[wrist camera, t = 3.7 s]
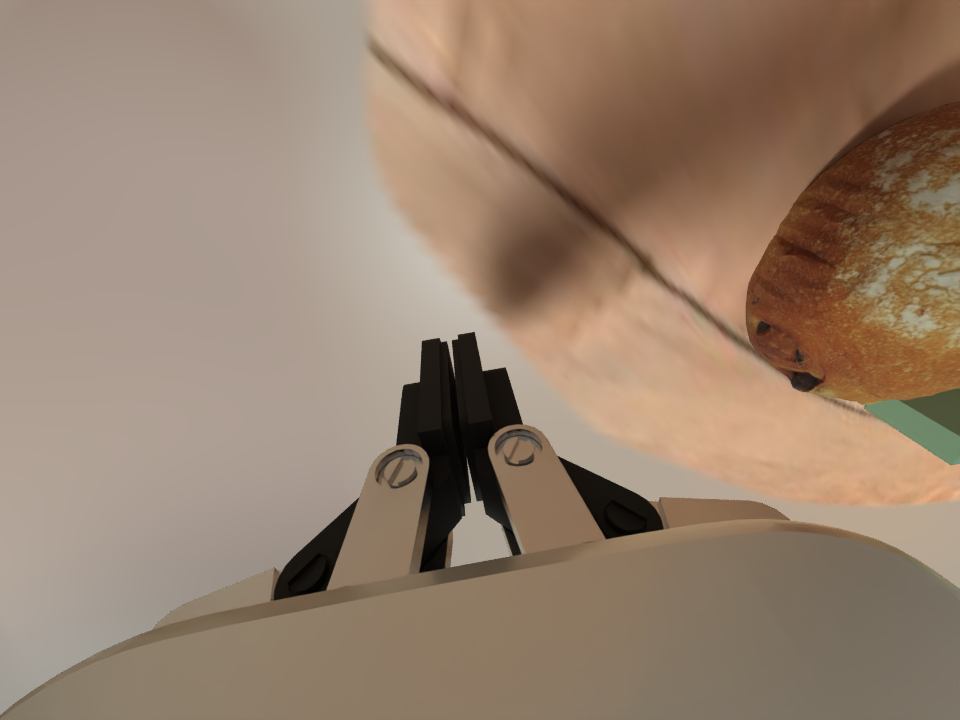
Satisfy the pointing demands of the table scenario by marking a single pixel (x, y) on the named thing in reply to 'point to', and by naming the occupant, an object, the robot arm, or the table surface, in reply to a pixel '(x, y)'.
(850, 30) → the table surface
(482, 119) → the table surface
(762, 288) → the bread roll
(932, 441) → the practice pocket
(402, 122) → the table surface
